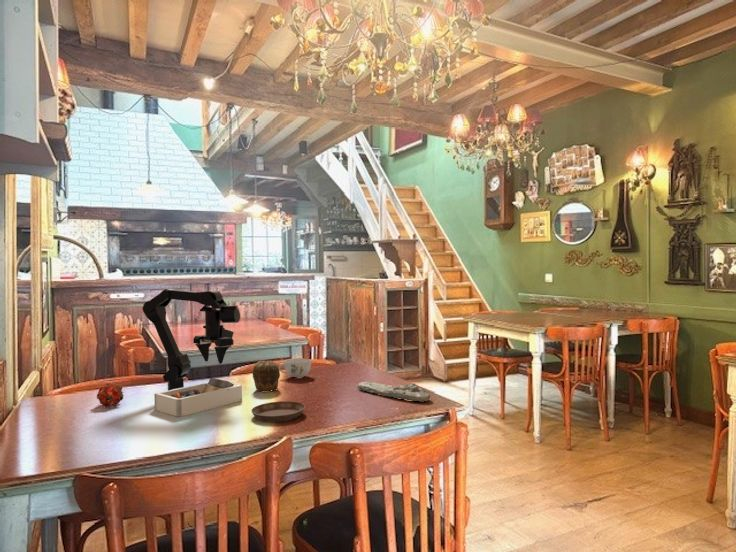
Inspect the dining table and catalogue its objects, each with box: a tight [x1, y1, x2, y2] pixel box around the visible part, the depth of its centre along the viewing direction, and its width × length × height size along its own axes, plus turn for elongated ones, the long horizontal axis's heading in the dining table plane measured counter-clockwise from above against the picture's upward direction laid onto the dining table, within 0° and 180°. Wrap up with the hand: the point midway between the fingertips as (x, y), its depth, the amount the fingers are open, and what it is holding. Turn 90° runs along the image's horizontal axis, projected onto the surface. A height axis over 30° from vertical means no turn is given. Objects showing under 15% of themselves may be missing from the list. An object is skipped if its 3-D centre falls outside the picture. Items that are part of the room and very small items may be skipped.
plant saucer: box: [250, 400, 306, 423], centre depth 167 cm, size 18×18×3 cm
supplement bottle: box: [171, 389, 200, 399], centre depth 178 cm, size 6×6×11 cm
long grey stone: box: [357, 380, 432, 403], centre depth 193 cm, size 35×5×10 cm
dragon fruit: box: [96, 382, 125, 408], centre depth 183 cm, size 8×8×12 cm
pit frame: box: [153, 381, 243, 418], centre depth 182 cm, size 15×26×6 cm, turn 142°
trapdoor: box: [203, 377, 235, 393], centre depth 188 cm, size 12×9×3 cm
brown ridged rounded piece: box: [252, 360, 281, 392], centre depth 204 cm, size 11×11×12 cm
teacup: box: [278, 357, 313, 378], centre depth 228 cm, size 15×12×8 cm
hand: (213, 362), depth 196 cm, fingers open, 9 cm apart
